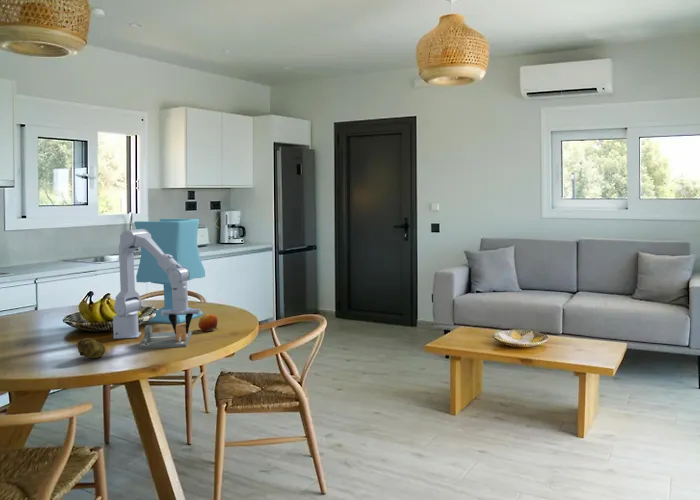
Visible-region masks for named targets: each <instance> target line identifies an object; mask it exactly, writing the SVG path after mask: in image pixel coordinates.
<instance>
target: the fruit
mask: <svg viewBox="0 0 700 500" xmlns="http://www.w3.org/2000/svg"><path fill="white" fill-rule="evenodd" d="M218 323H219V322H218V317H217V316H216V315H215V314H213V313H207V314H205V315H202V316H200V318H199V321H198V328H199V329H200V330H201V331H202V332H211V331H214V330H218V328H217V327H218Z"/></svg>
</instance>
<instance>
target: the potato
mask: <svg viewBox="0 0 700 500" xmlns="http://www.w3.org/2000/svg"><path fill="white" fill-rule="evenodd" d="M76 346H77V351H78V353H79V356H82V357H86V358H90V359H100V358H101V357H103V356H104V354H105V352H106V348H105V345H104V344H103V343H101V342H99V341H98V340H96V339H95V338H91V337H86V338H82V339H80V341H78V342H77V344H76ZM99 357H100V358H99Z"/></svg>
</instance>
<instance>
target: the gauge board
mask: <svg viewBox="0 0 700 500" xmlns="http://www.w3.org/2000/svg"><path fill="white" fill-rule="evenodd" d="M192 335H193V330H189V332H188V334H187V335H186V340H182V341H181V342H179V341H176V334H175V332H174V331H165V332H152V337H151V342H147V344H145V338H144V336H143V337H142V341H141V342H140V344H138V347H137V348H138V350H143V349H144V350H145V349H165V348H167V349H169V348H185V347H187V346H188V344H189V342H190V340H191V337H192Z"/></svg>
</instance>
